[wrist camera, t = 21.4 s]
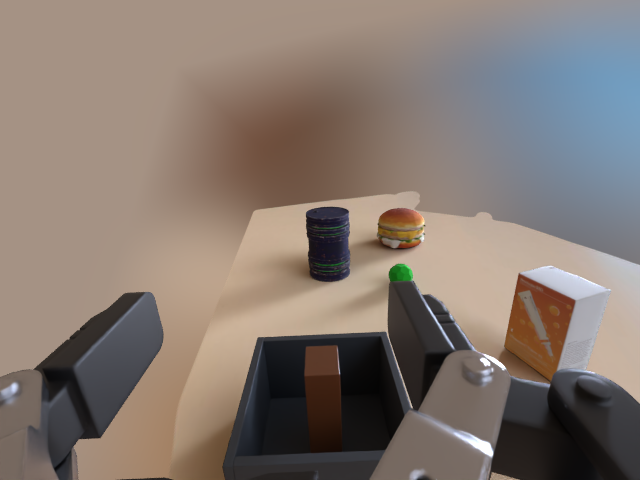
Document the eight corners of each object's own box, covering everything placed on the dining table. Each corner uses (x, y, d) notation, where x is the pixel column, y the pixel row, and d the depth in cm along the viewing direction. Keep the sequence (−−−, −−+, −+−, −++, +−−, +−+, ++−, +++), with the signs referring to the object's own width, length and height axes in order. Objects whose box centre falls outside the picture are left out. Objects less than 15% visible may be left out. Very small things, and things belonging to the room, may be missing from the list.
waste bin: (239, 546, 28) (222, 466, 24) (266, 400, 43) (257, 337, 39) (419, 539, 28) (427, 458, 24) (384, 394, 42) (386, 331, 39)
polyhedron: (386, 280, 72) (386, 261, 70) (408, 279, 72) (409, 259, 70) (391, 291, 67) (392, 271, 66) (415, 290, 67) (416, 269, 66)
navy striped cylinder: (355, 266, 80) (354, 207, 75) (343, 284, 71) (341, 220, 66) (318, 261, 83) (315, 205, 78) (302, 278, 75) (297, 217, 70)
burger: (429, 238, 95) (431, 205, 92) (417, 255, 84) (419, 218, 81) (385, 232, 102) (386, 202, 98) (369, 247, 91) (369, 213, 87)
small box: (502, 347, 50) (516, 271, 45) (533, 337, 52) (550, 264, 47) (553, 385, 43) (576, 299, 38) (587, 372, 44) (613, 289, 40)
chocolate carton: (311, 468, 33) (304, 375, 29) (312, 432, 37) (305, 346, 32) (342, 467, 33) (339, 374, 29) (340, 431, 37) (337, 345, 32)
